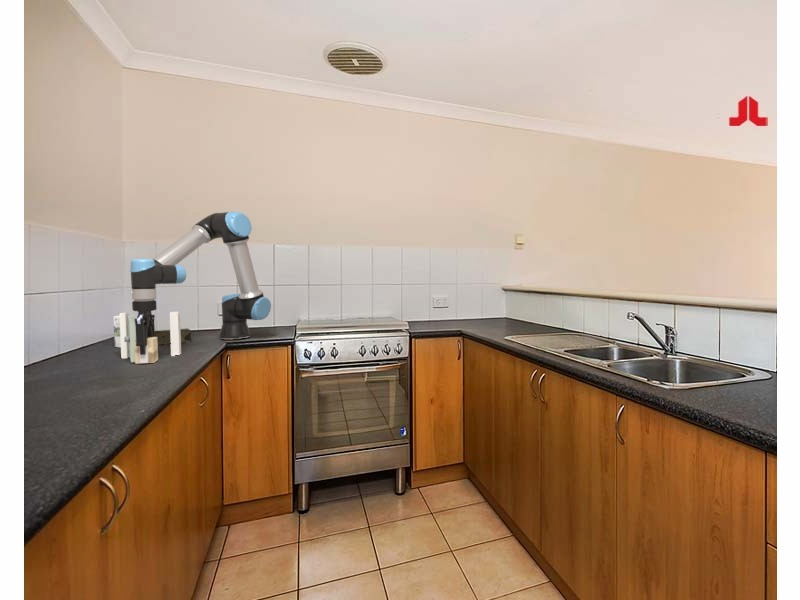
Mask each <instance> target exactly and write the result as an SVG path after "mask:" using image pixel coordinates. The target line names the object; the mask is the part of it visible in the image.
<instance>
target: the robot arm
mask: <svg viewBox="0 0 800 600" xmlns="http://www.w3.org/2000/svg"><path fill="white" fill-rule="evenodd" d="M252 230H253V229H252V223H251V220H250V219H249V217H248V216H247V215H245V214H244V213H243V212H240V211H227V212H225V211H224V212H214V213H212V214H210V215H207V216H206V217H203V219H201V220H200V221H198V222H197V223H195V224H194V225H192V226H191V230H190V231H188V232H187V233H186V234H184V235H183V236H181V237H180V238H179V239H178V240H177V241H175V242H174V243H172V244H171V245H169V246H168V247H166V248H165V249H163V250H162V251H161V252H160V253H158V254H157V255H156V256H155V257H153V258H152V259H151V258H150V259H149V258H133V259H132V260H131V261H130V270H129V271H130V281H131V291H130V295H131V300H133V301H132V302H131V303H132V311H134V312H138V313H137V318H135V325H136V346H139V360H140V363H141V364H150V363H149V358H148V345H147V337H155V331H156V329H155V328H156V327H155V319H156V318H155V314H153V313H152V311H156V310H157V300H156V299H157V290H156V289H157V287H156V286H157V285H169V284H171V285H176V284H182V283H184V282H185V281H186V278H187V271H186V269H185V267H184V266H183V265H180V264H179V263H181V262H182V261H183V260H184V259H186V258H187V257H189V255H191V254H193V252H195V251H196V250H197V249H199V248H200V247H201V246H202V245H204V244H208V243H210V242H211V241H213V240H215V239H219V238H220V239H221V238H222V242H223V244H224V245H226V246H227V248H228V251H229V254H230V258H231V262H232V266H233V269H234V272H235V273H234V274H235V277H236V280H237V284H238V287H239V288H238V289H239V292H240V293H236V294H234V293H233V294H227V295H223V296H222V298H221V315H222V316H221V317H222V318H221V319H222V324H221V329H220V331H219V334H218V339H219V338H239V337H246V336H250V337H251V332H250V328H249V325H248V323H247V322H248V321H247V320H251V321H252V320H253V321H262V320H265V319H266V318H267V317H268V316H269V314H270V313H271V310H272V302H271V300H270V299H269V298H268V297H266V296H265V295H264V292H263V290H261V289H259V285H258V280H257V277H256V274H255V269H254V265H253V261H252V258H251V253H250V250H249V246H248V241H249V240H250V236H249V235H251V233H252Z"/></svg>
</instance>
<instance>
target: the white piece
mask: <svg viewBox="0 0 800 600" xmlns="http://www.w3.org/2000/svg"><path fill="white" fill-rule="evenodd" d="M128 315H129V312H120V313H119V315H118V316H120V339H121V348H120V356H121V358H122V359H128V357H129V342H125V340H124V337H128V336H129V335H128ZM180 329H181V312H180V311H170V312H169V330H170V339H171V344H170V356H171V357H176V356H175V355H180V354H181V355H182V343H181V331H180ZM181 355H180V356H181ZM129 358H130V357H129Z"/></svg>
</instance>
